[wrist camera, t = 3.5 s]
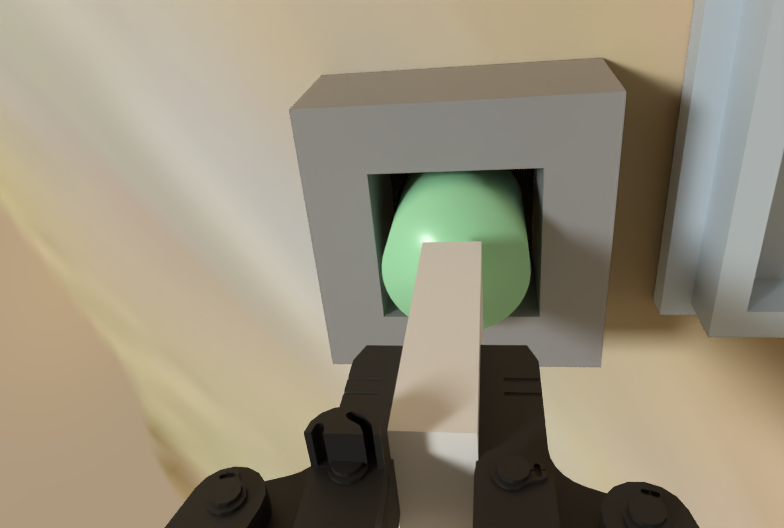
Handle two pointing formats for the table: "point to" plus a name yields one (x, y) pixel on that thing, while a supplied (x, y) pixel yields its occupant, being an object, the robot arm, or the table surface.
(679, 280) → the grey tray
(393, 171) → the grey square holder
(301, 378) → the table surface
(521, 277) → the button
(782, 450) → the table surface
